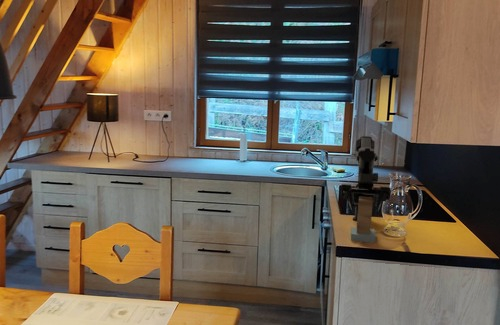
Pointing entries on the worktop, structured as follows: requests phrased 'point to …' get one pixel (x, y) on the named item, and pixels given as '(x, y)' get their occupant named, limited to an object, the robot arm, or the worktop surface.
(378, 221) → the worktop surface
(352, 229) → the base block
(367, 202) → the walnut pillar
